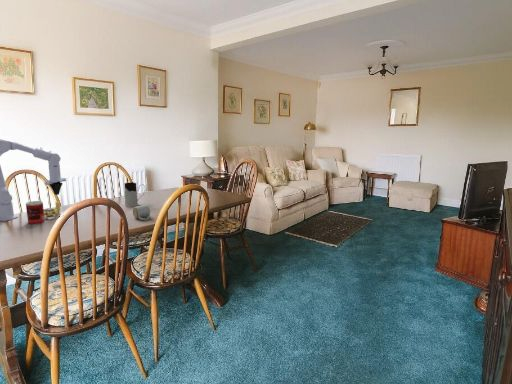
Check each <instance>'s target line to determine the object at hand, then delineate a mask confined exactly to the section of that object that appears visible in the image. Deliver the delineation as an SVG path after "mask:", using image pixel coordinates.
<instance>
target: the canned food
mask: <svg viewBox="0 0 512 384" xmlns="http://www.w3.org/2000/svg"><path fill="white" fill-rule="evenodd" d="M43 209H44V203H43V201H41V200H32V201H28V202H26V203H25V210H26V217H27V222H28V224H31V225H35V224H36V225H37V224H42V223H44V222H45V219H44V210H43Z"/></svg>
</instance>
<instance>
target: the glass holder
mask: <svg viewBox="0 0 512 384" xmlns="http://www.w3.org/2000/svg"><path fill="white" fill-rule="evenodd" d="M141 186H143V187H144V188H146V186H145V185H144V184H142V183H141V184H139V185H138V187H137V182H133V181H132V182H125V183H124V186H123V187H124V207H127V208H128V207H137V206H139V204H138V203H139V199H141V198H142V197H143V196H144V194H145V192H146V189H143V190H144V191H143V193H142V195H141V196H139V197H138V192H139V191H140V189H137V188H140V187H141Z"/></svg>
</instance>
